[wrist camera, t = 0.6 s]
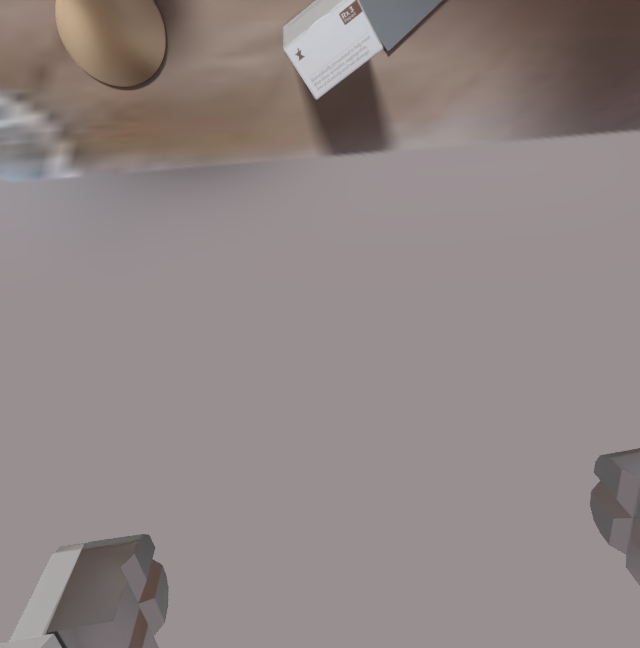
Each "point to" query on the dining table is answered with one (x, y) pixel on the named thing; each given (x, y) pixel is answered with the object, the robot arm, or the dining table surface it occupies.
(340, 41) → the skincare box
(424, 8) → the felt mat
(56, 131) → the dining table surface
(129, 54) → the cork coaster
